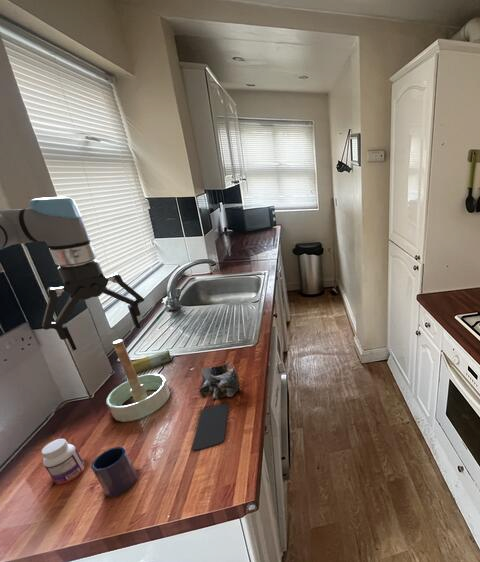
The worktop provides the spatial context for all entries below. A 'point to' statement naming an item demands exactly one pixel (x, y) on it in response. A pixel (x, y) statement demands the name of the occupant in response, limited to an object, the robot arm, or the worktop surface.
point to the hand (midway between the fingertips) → (107, 336)
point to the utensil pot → (114, 471)
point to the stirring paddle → (130, 372)
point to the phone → (211, 427)
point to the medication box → (151, 361)
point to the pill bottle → (62, 461)
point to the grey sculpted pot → (220, 381)
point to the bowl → (141, 407)
